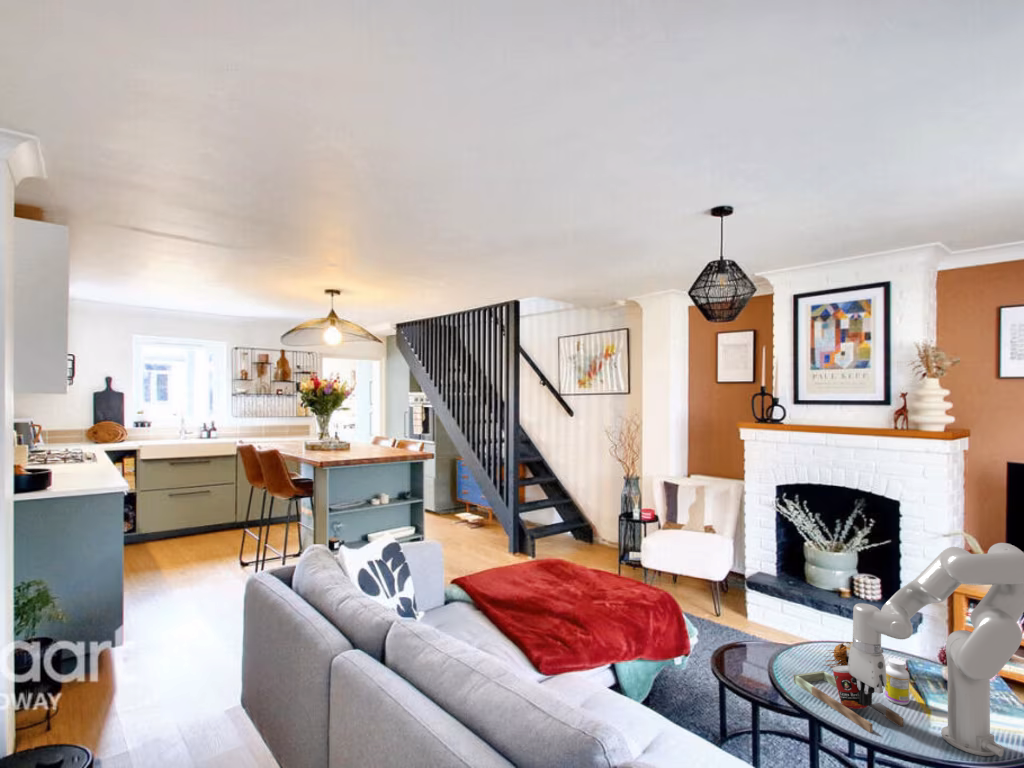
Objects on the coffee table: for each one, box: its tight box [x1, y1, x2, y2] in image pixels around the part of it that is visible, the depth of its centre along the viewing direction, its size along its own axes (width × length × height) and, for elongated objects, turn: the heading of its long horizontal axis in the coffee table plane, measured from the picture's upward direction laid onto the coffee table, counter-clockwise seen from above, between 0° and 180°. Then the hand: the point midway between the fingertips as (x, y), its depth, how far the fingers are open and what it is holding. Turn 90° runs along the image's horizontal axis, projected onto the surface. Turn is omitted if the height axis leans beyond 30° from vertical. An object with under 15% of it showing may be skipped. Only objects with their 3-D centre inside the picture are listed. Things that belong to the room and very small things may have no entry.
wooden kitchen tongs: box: [793, 670, 905, 734], centre depth 181 cm, size 30×18×2 cm, turn 15°
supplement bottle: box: [884, 657, 910, 706], centre depth 183 cm, size 7×7×13 cm
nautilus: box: [824, 641, 853, 669], centre depth 207 cm, size 8×22×15 cm
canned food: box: [832, 665, 868, 710], centre depth 179 cm, size 8×8×11 cm
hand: (865, 704), depth 173 cm, fingers closed
